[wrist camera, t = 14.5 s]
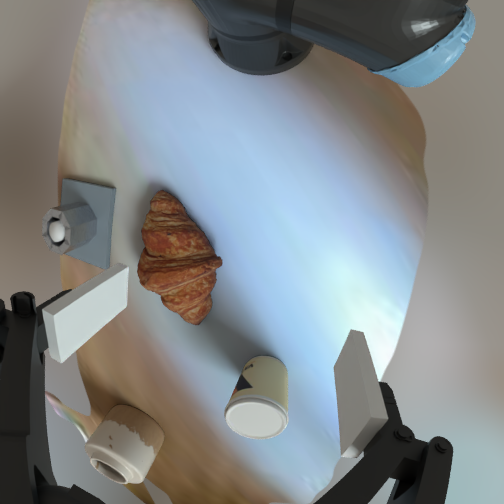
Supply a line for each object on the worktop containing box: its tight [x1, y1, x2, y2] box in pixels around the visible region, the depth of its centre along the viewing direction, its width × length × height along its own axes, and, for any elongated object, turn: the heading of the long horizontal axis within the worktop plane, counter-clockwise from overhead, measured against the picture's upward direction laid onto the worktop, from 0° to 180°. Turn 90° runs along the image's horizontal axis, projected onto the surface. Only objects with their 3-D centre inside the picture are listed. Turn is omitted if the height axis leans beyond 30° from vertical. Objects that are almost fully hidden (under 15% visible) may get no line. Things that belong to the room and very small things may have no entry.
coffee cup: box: [224, 356, 288, 439], centre depth 43 cm, size 9×9×12 cm
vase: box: [85, 405, 164, 484], centre depth 52 cm, size 15×15×17 cm
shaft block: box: [49, 178, 116, 270], centre depth 42 cm, size 14×12×8 cm
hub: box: [42, 202, 97, 255], centre depth 42 cm, size 7×7×7 cm
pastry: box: [137, 190, 222, 325], centre depth 41 cm, size 17×15×8 cm
